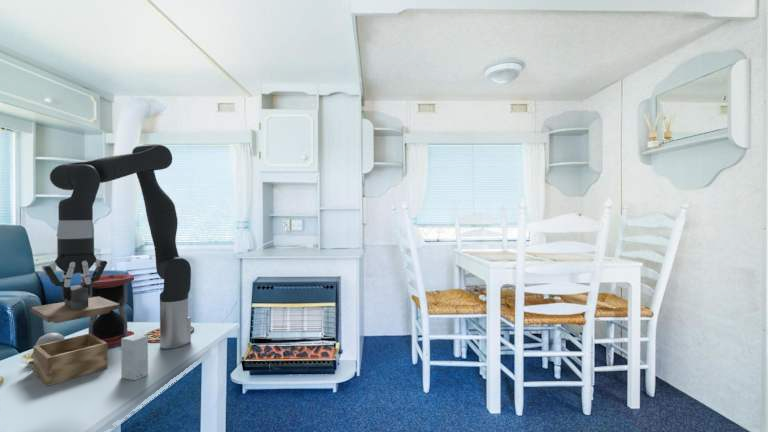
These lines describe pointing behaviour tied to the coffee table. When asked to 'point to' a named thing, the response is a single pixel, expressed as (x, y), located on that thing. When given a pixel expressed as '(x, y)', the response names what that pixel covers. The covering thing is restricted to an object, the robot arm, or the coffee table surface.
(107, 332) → the hourglass
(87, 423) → the coffee table surface
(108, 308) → the lid
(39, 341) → the round bodied animal figurine
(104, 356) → the open wooden box
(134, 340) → the skincare box
